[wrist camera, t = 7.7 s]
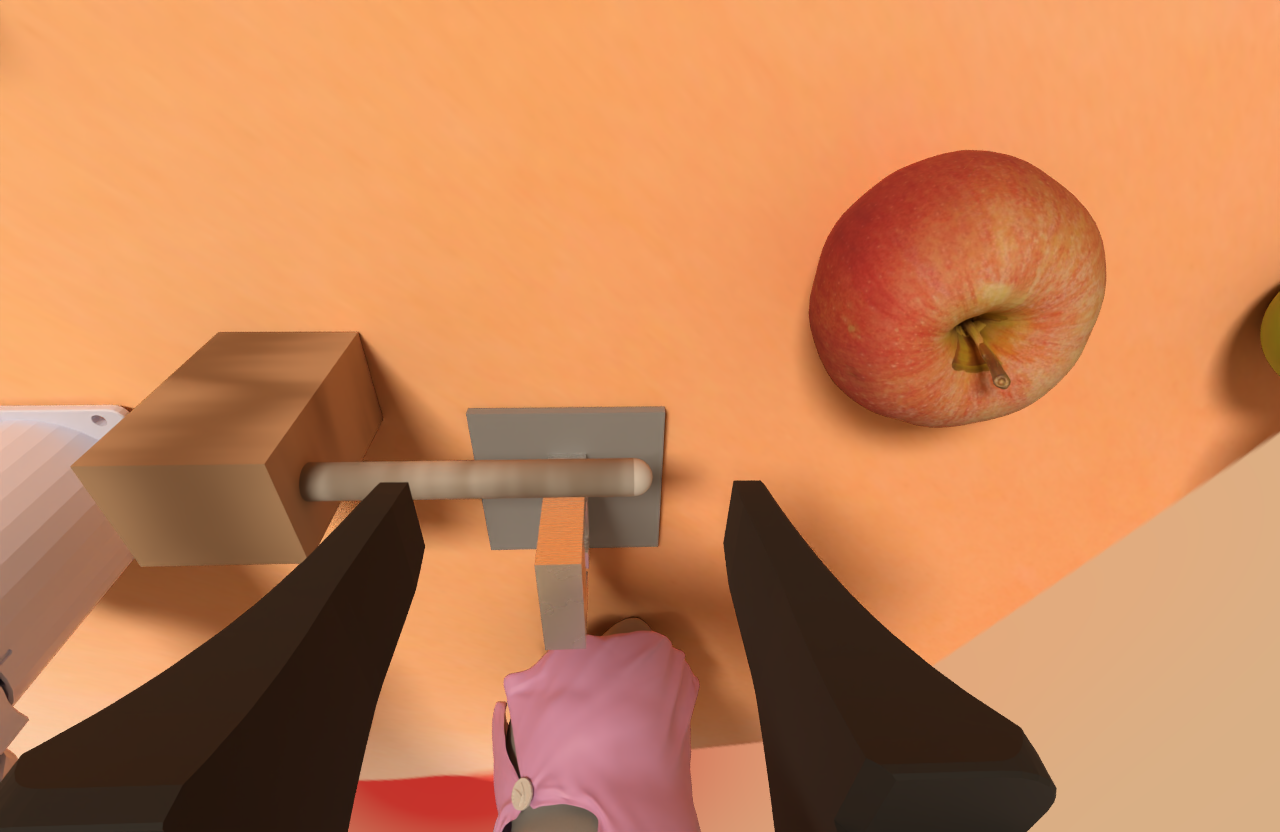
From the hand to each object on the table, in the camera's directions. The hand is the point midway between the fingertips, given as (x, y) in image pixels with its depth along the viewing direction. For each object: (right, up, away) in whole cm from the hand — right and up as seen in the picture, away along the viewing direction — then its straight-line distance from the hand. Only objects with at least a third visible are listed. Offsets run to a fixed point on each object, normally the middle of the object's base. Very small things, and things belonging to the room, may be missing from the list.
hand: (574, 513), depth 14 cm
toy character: (-1, -10, +21) cm, 23 cm away
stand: (-6, +4, +10) cm, 12 cm away
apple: (+11, +8, +8) cm, 16 cm away
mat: (-2, -1, +13) cm, 13 cm away
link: (-2, -1, +13) cm, 14 cm away
